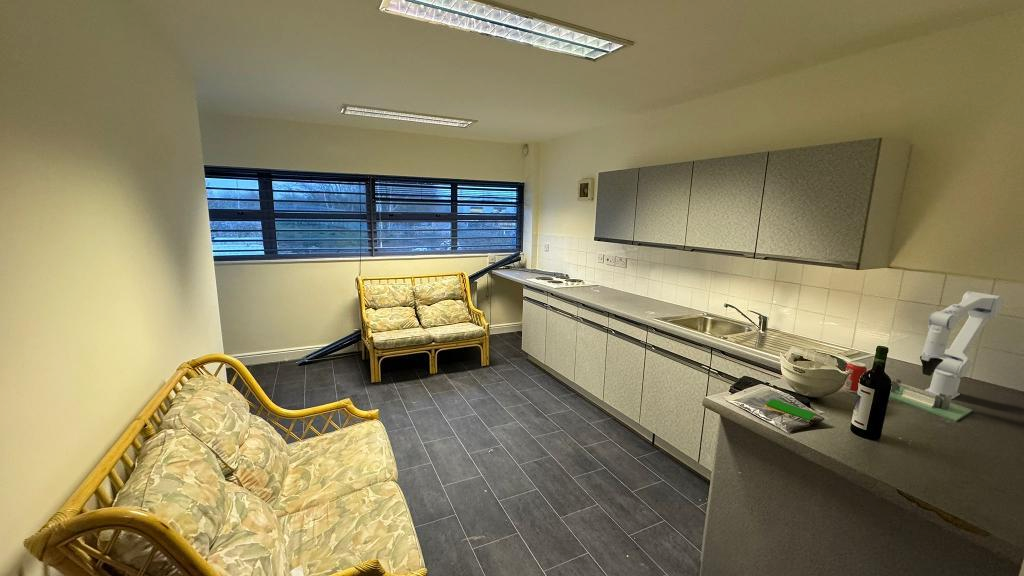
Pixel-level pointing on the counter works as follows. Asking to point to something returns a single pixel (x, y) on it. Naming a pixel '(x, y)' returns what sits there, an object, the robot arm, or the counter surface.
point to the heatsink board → (928, 402)
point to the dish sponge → (789, 409)
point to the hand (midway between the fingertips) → (926, 374)
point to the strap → (918, 390)
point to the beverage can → (854, 375)
